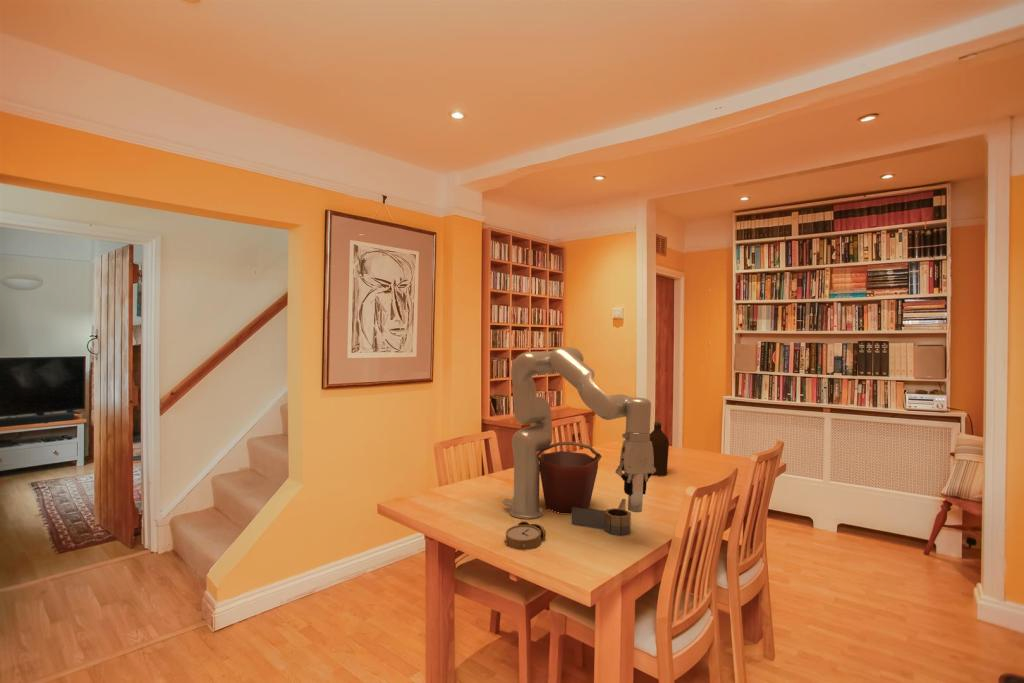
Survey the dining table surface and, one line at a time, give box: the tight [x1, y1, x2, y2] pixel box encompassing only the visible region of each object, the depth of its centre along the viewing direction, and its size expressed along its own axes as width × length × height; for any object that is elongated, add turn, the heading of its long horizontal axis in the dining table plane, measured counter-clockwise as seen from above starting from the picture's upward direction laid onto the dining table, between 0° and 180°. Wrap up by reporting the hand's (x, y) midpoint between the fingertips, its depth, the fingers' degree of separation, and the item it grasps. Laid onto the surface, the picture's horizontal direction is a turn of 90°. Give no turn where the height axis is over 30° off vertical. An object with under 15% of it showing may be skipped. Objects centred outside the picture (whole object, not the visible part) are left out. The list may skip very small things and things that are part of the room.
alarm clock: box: [503, 520, 546, 551], centre depth 162 cm, size 11×5×15 cm
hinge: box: [570, 498, 632, 536], centre depth 179 cm, size 20×20×6 cm
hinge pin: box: [627, 473, 644, 513], centre depth 161 cm, size 4×4×14 cm
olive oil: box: [649, 421, 670, 476], centre depth 245 cm, size 11×11×25 cm
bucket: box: [536, 441, 602, 514], centre depth 194 cm, size 24×22×25 cm
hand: (634, 493), depth 161 cm, fingers closed on hinge pin, 4 cm apart
